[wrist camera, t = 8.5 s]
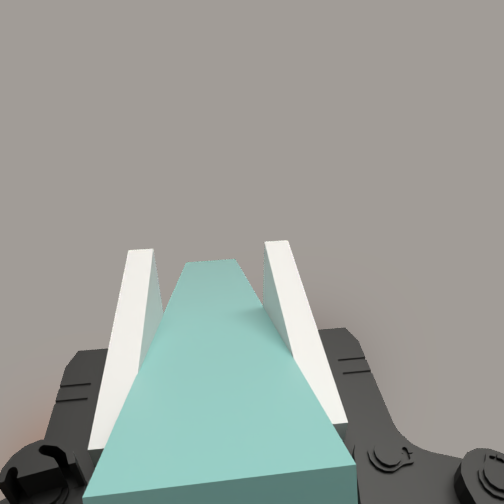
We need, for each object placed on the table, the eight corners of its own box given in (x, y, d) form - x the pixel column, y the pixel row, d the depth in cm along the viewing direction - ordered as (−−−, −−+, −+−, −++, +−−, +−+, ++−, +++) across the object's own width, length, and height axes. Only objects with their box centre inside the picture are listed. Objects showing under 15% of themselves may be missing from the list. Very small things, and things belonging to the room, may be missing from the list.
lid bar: (108, 746, 6) (82, 498, 5) (189, 310, 31) (186, 262, 31) (365, 701, 6) (356, 463, 6) (238, 306, 31) (235, 258, 31)
